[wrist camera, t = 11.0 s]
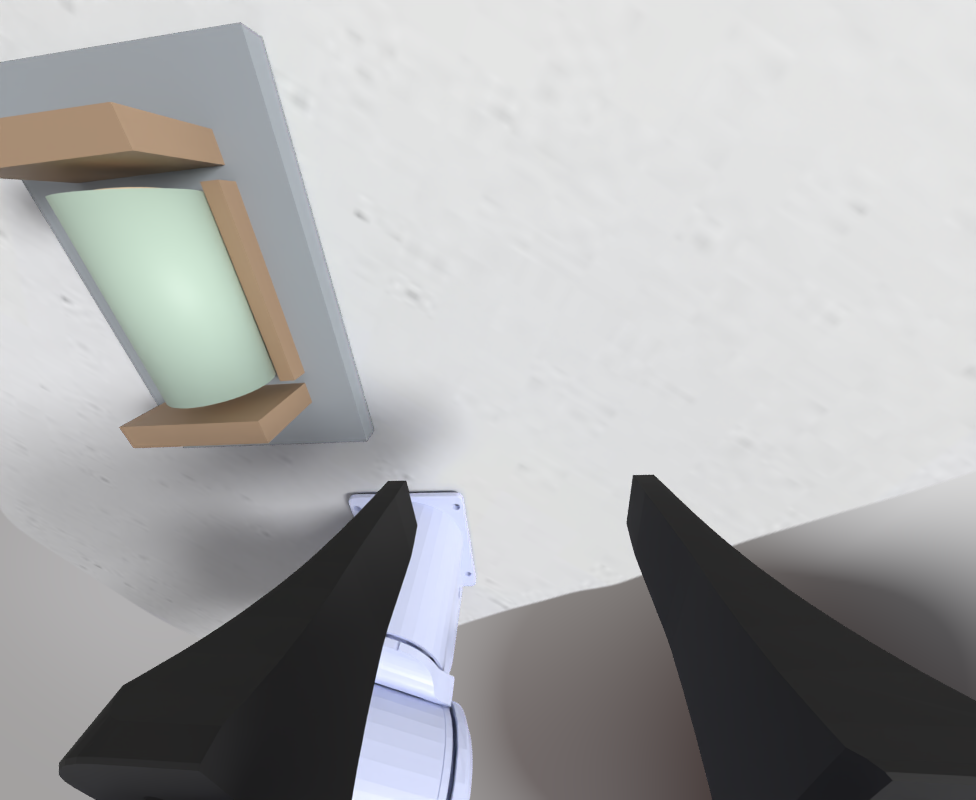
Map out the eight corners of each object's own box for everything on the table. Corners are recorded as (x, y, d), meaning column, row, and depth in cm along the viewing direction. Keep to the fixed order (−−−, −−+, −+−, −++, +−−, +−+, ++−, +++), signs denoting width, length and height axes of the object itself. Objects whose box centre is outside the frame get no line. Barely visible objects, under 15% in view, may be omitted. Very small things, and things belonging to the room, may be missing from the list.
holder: (374, 430, 22) (337, 488, 17) (198, 437, 23) (121, 492, 19) (262, 37, 13) (133, -52, 9) (-6, 79, 15) (-240, 20, 10)
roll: (283, 363, 20) (267, 396, 16) (189, 380, 18) (148, 421, 15) (216, 191, 16) (174, 179, 12) (93, 199, 15) (2, 189, 11)
